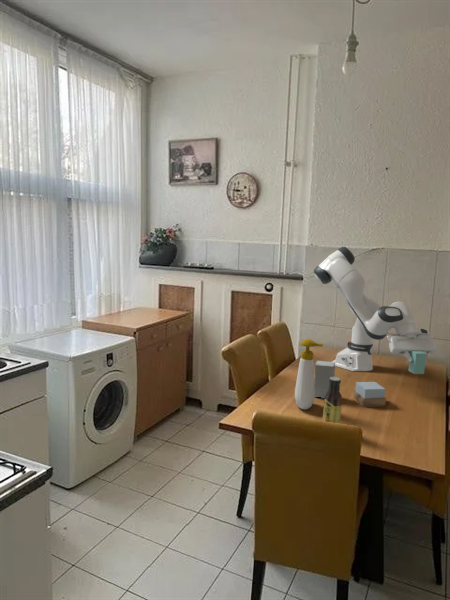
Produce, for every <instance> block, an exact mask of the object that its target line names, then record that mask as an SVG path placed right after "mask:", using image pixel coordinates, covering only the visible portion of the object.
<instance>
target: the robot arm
mask: <svg viewBox="0 0 450 600" xmlns="http://www.w3.org/2000/svg"><path fill="white" fill-rule="evenodd" d="M355 259H356V257H355V255H354V253H353V251H352V250H351V249H350V248H348V247H346V246H341V247H339V248H338V249H337V250H335V251H334V252H332V253H331V254H329V255H328V256H327V257H326V258H325V259H324V260H323V261H322V262H321V263H319V265H317V266H316V267H315V268H314V269H313V274H314V276H315V277H314V278H315V279H316V281H317V282H319V283H321V284H323V285H327V284H329V283H331V284H332V286H333V287H334V288H335V289H336V291H337V292H338V293H339V294H340V295H341V297H342V298H343V300H344V302H345V304H346V306H347V307H348V309H349V311H350V312H351V313H352V314H353V315H354V316H356V320H355V323H354V324H353V326H352V328H351V339H350V340H349V341H348V342H346V345H347V347H345V348H344V349H341V350H340V351H338V352H337V354H336V356H335V359H333V360H332V361H331V362H335V367H336V368H337V367H338V368H341V369H344V370H348V371H351V372H371V371H373V370H374V365H373V358H372V354H373V351H374V350H373V349H374V344H373V340H384V339H385V338H386V339H387V342H388V347H389V351H390V352H391V354H392V355H403V356H404V358H406V359H407V361H408V363H409V362H413V361H414V359H413V357H410V351H422V352H424V353H426V356H427V355H432V354H433V355H434V353H436V351H437V350H438V347H437V344H436V342H435V340H434V338H433V337H432V336H431V333H430V330H428V329H425V328H422V327H419V326H417V324H416V323H415V322H414V317H413V314H412V311H411V310H410V308H409V306H408V305H407V304H406V303H405V302H403V301H395V302H392V303H391V304H389V305H383V306H381V305H380V304H379V303H378V302H377V301H376V300H373V299H370V298H369V297H367V296H366V295H365V293H364V291H365V286H366V282H365V279H364V277H363V275H362V274H361V272H359V270H357V268H355V266H354V265H353V264H354V263H355ZM392 329H395V332H396V333H390V334H388V333H389V331H391V330H392ZM426 362H428V361H427V358H426V359H425V363H426Z"/></svg>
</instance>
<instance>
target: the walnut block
mask: <svg viewBox="0 0 450 600" xmlns="http://www.w3.org/2000/svg"><path fill="white" fill-rule="evenodd" d="M354 398H355V399H356V400H357V401H358V402H359V403H360V404H359V403H358V402H357V401H356V400H355V399H354ZM353 399H354V400H355V401H356V402H357V403H358V404H359V405H360V406H361V407H362V408H364V407H366V408H367V407H370V408H371V407H386V402H387V398H386V397H385V396H384V398H364V397H362V396H361V395H360V394H359V393H357V392H356V391H355V389H354V390H353Z"/></svg>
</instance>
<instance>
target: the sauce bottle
mask: <svg viewBox="0 0 450 600" xmlns="http://www.w3.org/2000/svg"><path fill="white" fill-rule="evenodd" d="M329 382H330V383H329V389H328V391H327V394H326V396H325V399H324V398H323V399H324V401H323V411H322V412H323V413H322V421H326V422H333V423H340V422H341V415H342V413H341V412H342V394H341V392H340V386H341V382H342V380H341V378H340V377H337V376H334V377H330V378H329Z"/></svg>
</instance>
